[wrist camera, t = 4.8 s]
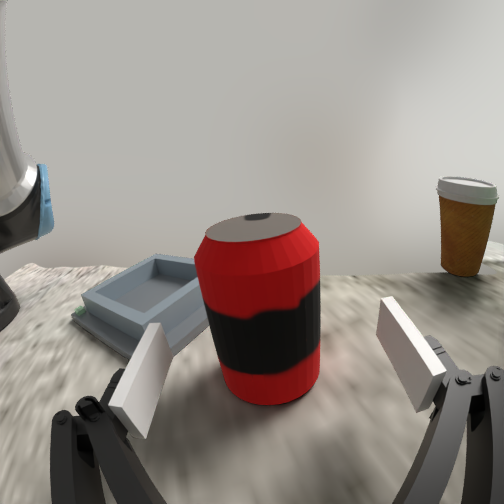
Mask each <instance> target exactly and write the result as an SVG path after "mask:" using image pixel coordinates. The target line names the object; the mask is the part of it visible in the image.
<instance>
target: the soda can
mask: <svg viewBox="0 0 504 504" xmlns="http://www.w3.org/2000/svg"><path fill="white" fill-rule="evenodd" d="M205 234H206V235H205V237H204V239H203V241H202V243H201V245H200V247H199V248H198V250H197V252H196V254H195V256H194V263H195V267H196V272H197V276H198V281H199V285H200V289H201V293H202V298H203V302H204V306H205V310H206V314H207V318H208V322H209V325H210V329H211V333H212V337H213V341H214V344H215V348H216V351H217V355H218V359H219V362H220V366H221V369H222V373H223V376H224V379H225V382H226V384H227V386H228V388H229V389H230V391H231V392H232V393H233V394H234V395H236V396H237V397H239V398H240V399H242V400H244V401H247V402H250V403H254V404H258V405H276V404H282V403H286V402H289V401H292V400H294V399H296V398H298V397H300V396H302V395H303V394H304V393H306V392H307V391H308V390H309V389H310V388H311V387H312V386H313V385H314V383H315V382H316V380H317V378H318V375H319V368H320V265H319V264H320V261H319V242H318V241H317V239H316V238H315V237H314V235H312V233H311V232H310V231H309V230H308V229H307V228H306V227H305V226H304V224H303V223H302V222H301V220H300V219H299V218H298V217H296V216H293V215H289V214H282V213H263V214H251V215H245V216H240V217H236V218H231V219H228V220H224V221H222V222H219V223H217V224H215V225H213V226H211V227H210V228H208V229H207V231H206V232H205Z"/></svg>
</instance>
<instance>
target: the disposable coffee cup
mask: <svg viewBox="0 0 504 504" xmlns="http://www.w3.org/2000/svg"><path fill="white" fill-rule="evenodd" d="M436 190H437V193H438V195H439V202H440V216H441V217H440V220H441V266H442V267H443V268H444V269H445V270H446V271H447V272H449V273H451V274H454V275H457V276H465V277H469V276H474V275H476V274H477V273H478V272H479V269H480V266H481V263H482V259H483V256H484V252H485V249H486V245H487V241H488V237H489V233H490V229H491V224H492V220H493V215H494V209H495V204H496V203H497V199H498V198H499V195H497V189H496V185H494V184H492V183H489V182H486V181H482V180H477V179H472V178H464V177H451V176H447V177H440V178H439V181H438V186H436Z"/></svg>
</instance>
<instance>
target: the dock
mask: <svg viewBox="0 0 504 504" xmlns="http://www.w3.org/2000/svg"><path fill="white" fill-rule="evenodd" d="M81 296H82V299H83V301H84V304H85V306H84V307H82V306H80V307H78V308H76V309H75V312H74V313H73V314H71V316H72V318H73V320H74V321H75V322H76V323H77V324H79V325H80V326H81V327H83V328H84V329H85V330H87V331H88V332H89V333H91V334H92V335H93V336H95V337H96V338H98V339H99V340H100V341H102V342H103V343H105V344H106V345H107V346H109V347H110V348H112V349H113V350H115V351H116V352H118V353H119V354H121V355H122V356H124V357H125V358H127V359H129V360H130V359H131V357H132V355H133V353H134V351H135V350H136V348H137V346H138V344H139V342H140V340H141V338H142V336H143V334H144V332H145V331H146V329H147V327H148V325H149V323H161V325H162V328H163V330H164V333H165V336H166V339H167V341H168V344H169V347H170V349H171V352H172V354H173V357H174V356H175V355H176V354H177V353H178V352H179V351H181V350H182V349H183V348H184V347H185V346H186V345H187V344H189V343H190V342H191V341H192V340H193V339H194V338H195V337H197V336H198V335H199V334H200V333H201V332H202V331H203V330H204V329H206V328H207V327H208V326H209V322H208V318H207V314H206V310H205V306H204V302H203V298H202V293H201V289H200V285H199V281H198V276H197V272H196V267H195V263H194V259H192V258H184V257H177V256H169V255H161V254H155V255H153V256H151V257H149V258H147V259H145V260H143V261H141V262H140V263H138V264H136V265H134V266H132V267H130V268H128V269H126V270H124V271H123V272H121V273H119V274H117V275H115V276H113V277H112V278H110V279H108V280H106V281H104V282H103V283H101V284H99V285H97V286H95V287H94V288H92V289H90V290H88V291H87V292H85V293H83V294H81Z"/></svg>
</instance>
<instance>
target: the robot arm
mask: <svg viewBox="0 0 504 504" xmlns="http://www.w3.org/2000/svg"><path fill="white" fill-rule="evenodd" d="M7 1H8V0H0V253H3V252H5V251H7V250H9V249H12V248H14V247H17V246H19V245H22V244H24V243H27V242H30V241H32V240H37V239H39V238H40V237H41V236H44V235H46V234H48V233H50V232H51V231H52V229H53V227H54V218H53V212H52V206H51V199H50V190H49V181H48V172H47V166H46V165H45V164H37V165H36V162H35V160H34V159H33V157H32V156H31V155H29V154H27V153H25V152H23V151H22V148H21V144H20V140H19V136H18V132H17V128H16V124H15V119H14V114H13V109H12V103H11V97H10V91H9V84H8V75H7V65H6V51H5V15H6V3H7ZM19 309H20V305H19V302H18V300H17V298H16V295H15V294H14V292H13V291H12V290H11V289H10V287H9V286H8V285H7V283H6V282H5V281H4V279H3V278H2V276H1V275H0V330H2V329H3V328H4V327H5V326H6V325H8V324H9V323H10V322H11V321H12V320H13V318H14V317H15V316H16V315H17V313H18V311H19ZM376 336H377V337H378V339H379V341H380V343H381V345H382V346H383V348H384V350H385V352H386V354H387V356H388V358H389V359H390V361H391V363H392V365H393V367H394V369H395V371H396V373H397V375H398V377H399V379H400V381H401V382H402V384H403V386H404V388H405V390H406V392H407V394H408V397H409V399H410V401H411V403H412V405H413V407H414V409H415V411H416V413H417V412H420V411H423V410H426V409H428V408H429V407H430V405H431V404H432V402H434V404H435V406H436V407H435V409H434V410H433V412H432V414H431V416H430V417H429V418H430V419H431V420H430V423H429V425H428V428H427V431H426V434H425V436H424V439H423V441H422V444H421V446H420V449H419V451H418V453H417V456H416V458H415V460H414V462H413V465H412V467H411V469H410V471H409V473H408V475H407V477H406V479H405V481H404V483H403V485H402V487H401V489H400V491H399V492H398V494H397V496H396V498H395V499H394V501H393V503H392V504H439V502H440V500H441V497H442V495H443V493H444V490H445V488H446V486H447V483H448V480H449V478H450V475H451V472H452V470H453V467H454V464H455V461H456V458H457V454H458V451H459V448H460V444H461V441H462V437H463V433H464V429H465V425H466V421H467V452H466V468H465V479H464V487H463V495H462V501H461V504H504V371H503V370H502V369H501V368H500V367H498V366H491V367H489V368H487V370H486V372H485V374H482V375H471V374H470V373H469V372H468V371H465V370H459V369H458V367H457V366H456V365H455V363H454V362H453V360H452V359H451V358H450V356H449V355H448V354H447V352H445V350H444V348H443V347H442V346H441V344H440V343H439V342H438V340H437V339H435V338H434V337H432V336H431V335H429V336H425V337H423V336H422V335H421V333H420V332H419V331H418V329H417V328H416V327H415V325H414V324H413V323H412V321H411V320H410V319H409V317H408V316H407V315H406V313H405V312H404V311H403V310H402V308H401V307H400V306H399V304H398V303H397V302H396V301H395V299H394V298H393V297H392V296H391V297H386V298H381V302H380V310H379V318H378V325H377V332H376ZM172 359H173V354H172V352H171V349H170V347H169V344H168V341H167V339H166V336H165V333H164V330H163V328H162V325H161V323H149V325H148V327H147V329H146V331H145V332H144V334H143V336H142V338H141V340H140V342H139V344H138V346H137V348H136V350H135V351H134V353H133V355H132V357H131V359H130V361H129V363H128V365H127V367H126V369H119V370H118V371H117V372H116V373H115V374H114V375H113V376H112V378H111V380H110V383H109V384H108V386H107V388H106V390H105V392H104V394H103V396H102V398H101V400H100V402H98V400H97V399H96V398H95V397H93V396H86V397H83V398H81V399H80V400H79V401H78V402H77V404H76V406H75V410H76V412H77V413H78V414H79V415H80V416H72V415H71V413H70V412H69V411H67V410H62V411H59V412H57V413H56V414H55V415H54V417H53V419H52V428H51V446H50V482H51V498H52V504H106V503H105V499H104V493H103V488H102V482H101V476H100V469H99V465H100V467H101V470H102V472H103V474H104V477H105V479H106V481H107V483H108V485H109V488H110V490H111V492H112V494H113V496H114V498H115V500H116V502H117V504H167V503H166V502H165V500H164V499H163V497H162V496H161V495H160V493H159V492H158V490H157V489H156V487H155V485H154V484H153V482H152V481H151V479H150V478H149V476H148V474H147V473H146V471H145V469H144V468H143V466H142V464H141V462H140V461H139V459H138V457H137V455H136V453H135V452H134V450H133V448H132V446H131V444H130V442H129V440H128V439H127V438H126V435H127V433H128V432H129V433H130V435H131V436H132V437H133V438H140V439H146V437H147V434H148V431H149V428H150V425H151V421H152V418H153V415H154V412H155V409H156V406H157V403H158V400H159V397H160V394H161V391H162V388H163V385H164V382H165V379H166V376H167V373H168V370H169V367H170V365H171V362H172Z"/></svg>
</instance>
